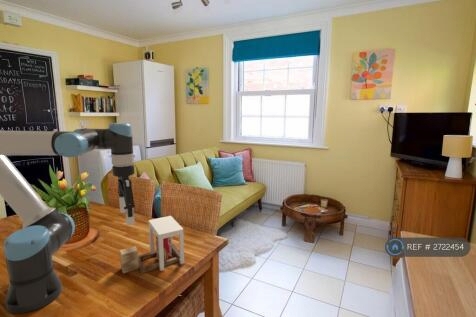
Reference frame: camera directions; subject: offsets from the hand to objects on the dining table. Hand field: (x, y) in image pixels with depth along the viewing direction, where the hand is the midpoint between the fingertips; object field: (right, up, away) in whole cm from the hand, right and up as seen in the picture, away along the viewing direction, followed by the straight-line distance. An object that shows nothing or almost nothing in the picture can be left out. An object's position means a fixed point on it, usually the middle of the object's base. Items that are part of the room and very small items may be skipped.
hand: (127, 217), depth 102 cm
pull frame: (+7, -21, +9) cm, 23 cm away
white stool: (+12, -20, +12) cm, 26 cm away
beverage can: (+11, -20, +11) cm, 26 cm away
